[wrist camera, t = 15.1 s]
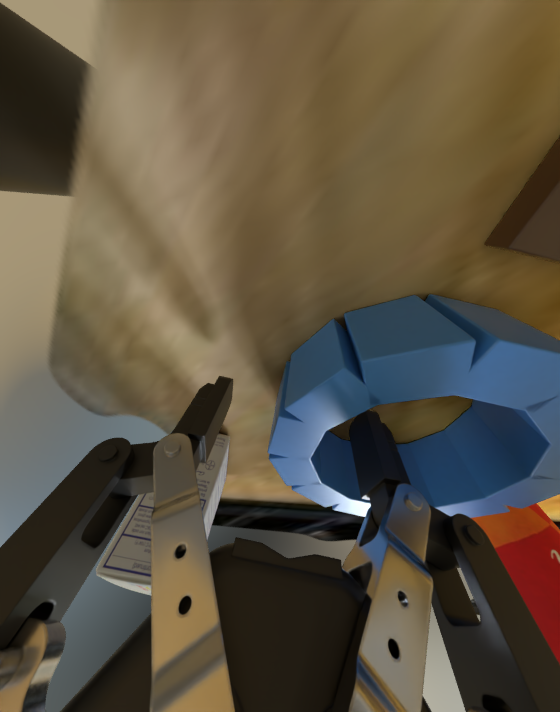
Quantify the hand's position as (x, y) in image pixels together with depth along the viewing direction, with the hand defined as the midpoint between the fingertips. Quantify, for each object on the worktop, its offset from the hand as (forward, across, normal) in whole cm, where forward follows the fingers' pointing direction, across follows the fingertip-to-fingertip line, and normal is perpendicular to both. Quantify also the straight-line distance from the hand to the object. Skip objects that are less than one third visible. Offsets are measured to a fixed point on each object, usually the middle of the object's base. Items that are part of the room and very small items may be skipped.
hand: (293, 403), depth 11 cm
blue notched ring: (+2, -6, 0) cm, 6 cm away
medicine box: (+2, +6, +11) cm, 13 cm away
